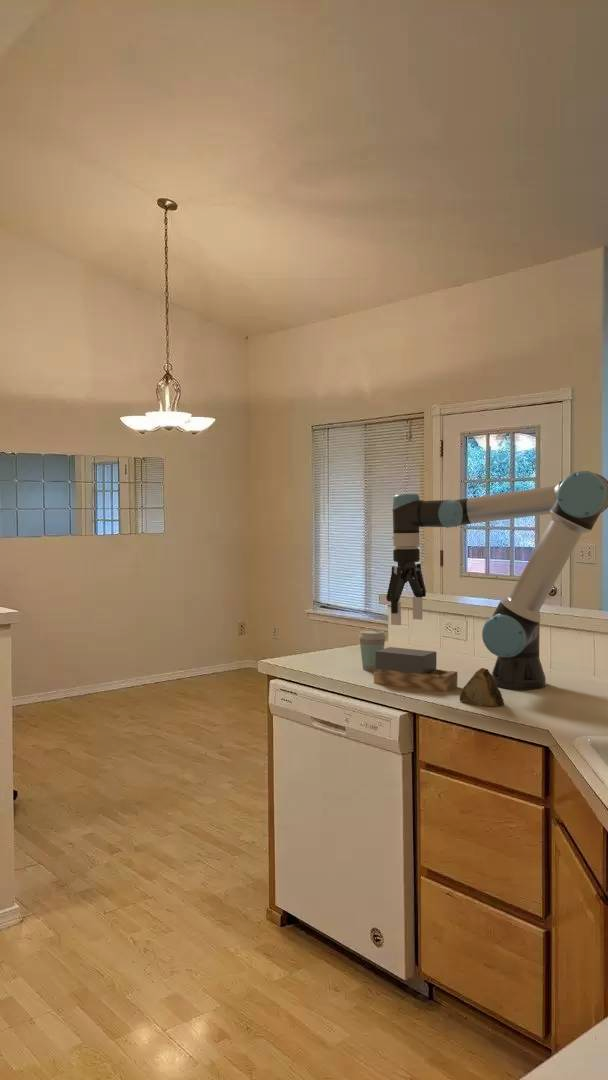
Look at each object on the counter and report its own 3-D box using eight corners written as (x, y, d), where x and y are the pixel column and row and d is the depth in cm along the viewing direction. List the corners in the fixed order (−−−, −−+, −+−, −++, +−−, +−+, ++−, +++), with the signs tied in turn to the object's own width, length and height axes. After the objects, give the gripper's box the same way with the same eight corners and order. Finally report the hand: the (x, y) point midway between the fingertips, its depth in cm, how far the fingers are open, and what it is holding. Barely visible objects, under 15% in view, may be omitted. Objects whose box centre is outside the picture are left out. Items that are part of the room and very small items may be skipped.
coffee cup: (384, 672, 262) (384, 634, 262) (356, 671, 264) (356, 633, 264) (387, 667, 271) (387, 630, 270) (360, 666, 272) (360, 629, 272)
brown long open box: (457, 687, 241) (457, 671, 240) (445, 692, 234) (445, 676, 234) (386, 678, 253) (386, 663, 253) (373, 683, 247) (373, 668, 246)
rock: (447, 693, 223) (471, 695, 214) (461, 665, 226) (485, 666, 217) (476, 715, 226) (500, 718, 217) (490, 687, 229) (514, 689, 220)
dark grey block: (436, 681, 245) (436, 651, 244) (422, 686, 237) (422, 656, 237) (390, 675, 253) (390, 647, 253) (375, 680, 246) (375, 651, 245)
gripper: (414, 545, 256) (414, 616, 257) (373, 549, 235) (374, 626, 236) (437, 546, 252) (437, 617, 253) (397, 550, 231) (398, 628, 232)
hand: (407, 622), depth 244 cm, fingers open, 13 cm apart
